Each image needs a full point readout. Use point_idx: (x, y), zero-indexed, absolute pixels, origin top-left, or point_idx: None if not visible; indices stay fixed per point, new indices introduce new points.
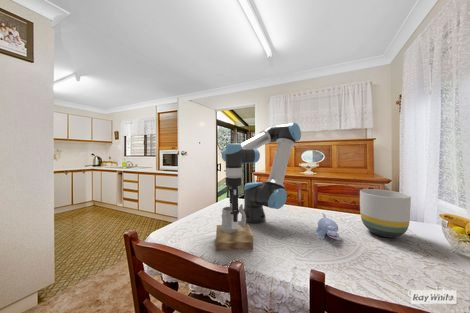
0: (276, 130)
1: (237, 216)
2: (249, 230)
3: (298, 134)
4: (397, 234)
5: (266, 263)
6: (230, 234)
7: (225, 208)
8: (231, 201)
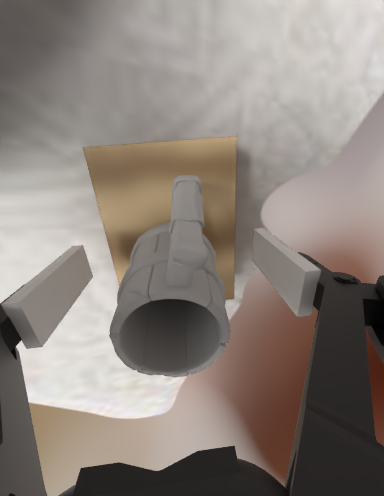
0: None
1: (303, 263)
2: (180, 151)
3: None
4: None
5: (318, 101)
6: (220, 249)
7: (139, 357)
8: (15, 363)
